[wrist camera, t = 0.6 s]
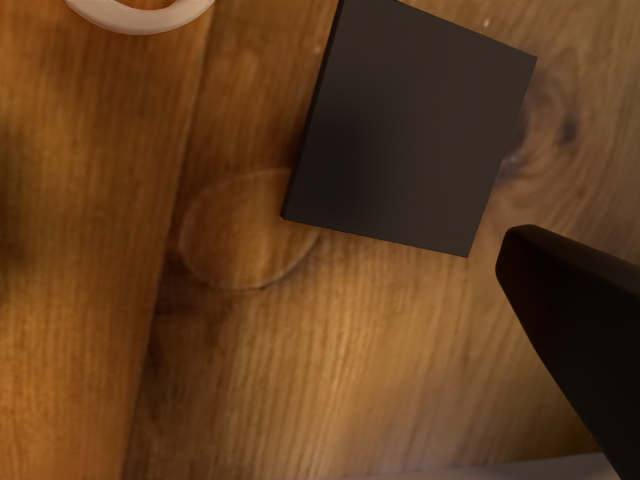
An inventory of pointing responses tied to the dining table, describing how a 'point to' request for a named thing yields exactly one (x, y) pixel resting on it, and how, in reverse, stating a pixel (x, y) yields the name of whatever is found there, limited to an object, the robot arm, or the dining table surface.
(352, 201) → the felt mat
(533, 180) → the dining table surface
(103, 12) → the knuckle duster
